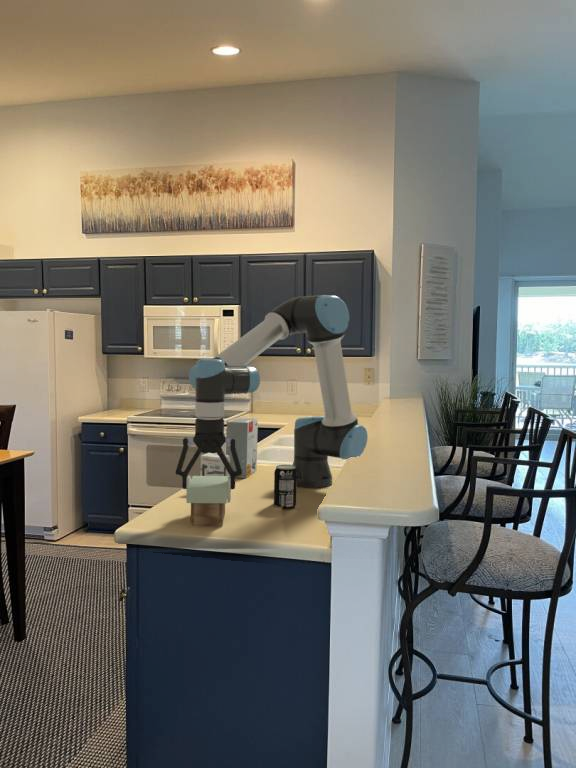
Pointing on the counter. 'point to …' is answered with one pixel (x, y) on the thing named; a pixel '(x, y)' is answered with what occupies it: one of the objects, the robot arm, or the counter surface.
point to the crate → (207, 514)
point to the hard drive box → (244, 444)
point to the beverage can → (285, 486)
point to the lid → (207, 489)
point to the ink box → (213, 465)
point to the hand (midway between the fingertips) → (208, 501)
